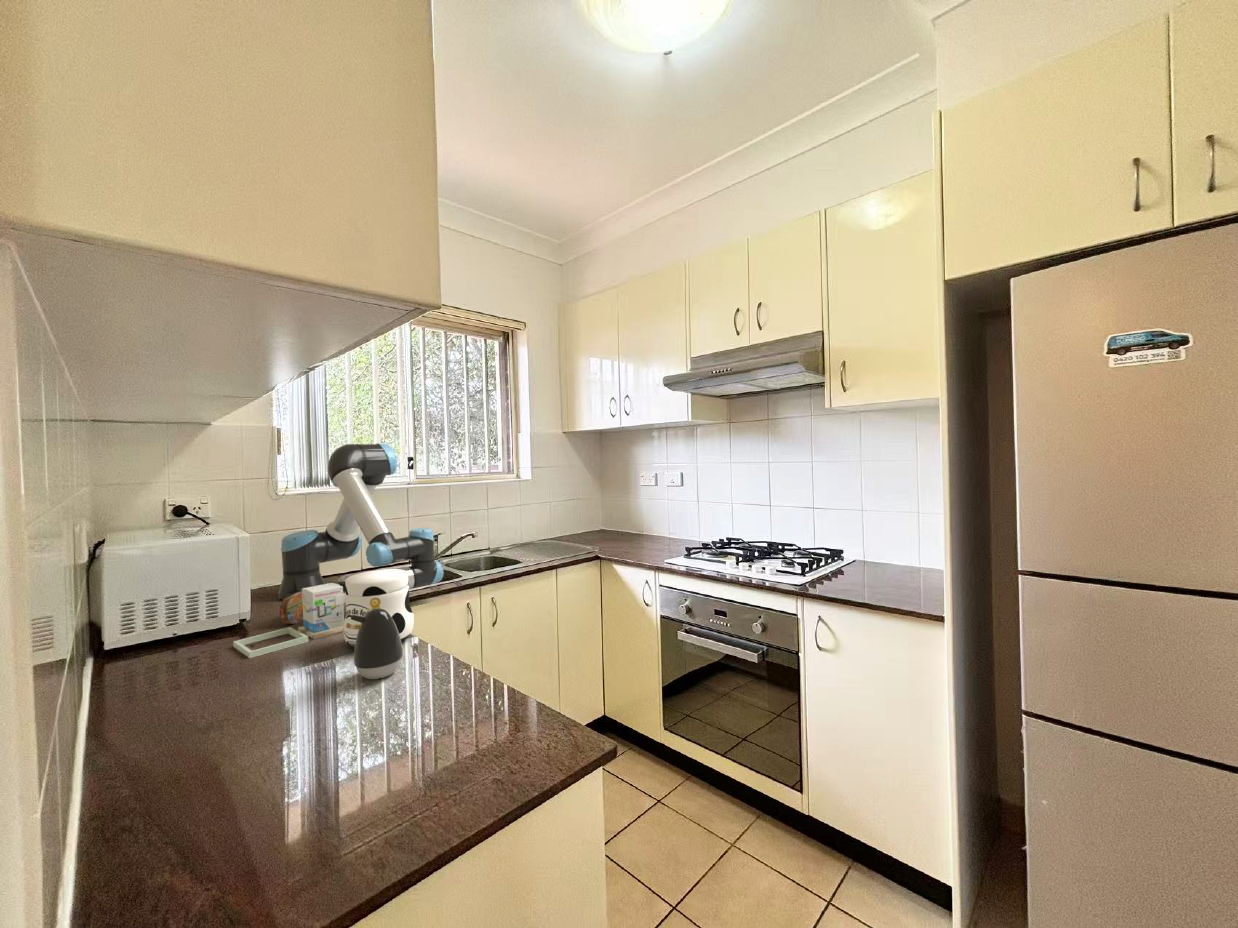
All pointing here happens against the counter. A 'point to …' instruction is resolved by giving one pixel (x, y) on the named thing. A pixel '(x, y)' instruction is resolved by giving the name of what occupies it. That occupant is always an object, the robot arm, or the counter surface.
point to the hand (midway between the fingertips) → (325, 597)
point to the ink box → (322, 607)
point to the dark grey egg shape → (377, 645)
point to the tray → (250, 654)
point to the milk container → (378, 600)
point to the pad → (321, 633)
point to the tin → (292, 609)
